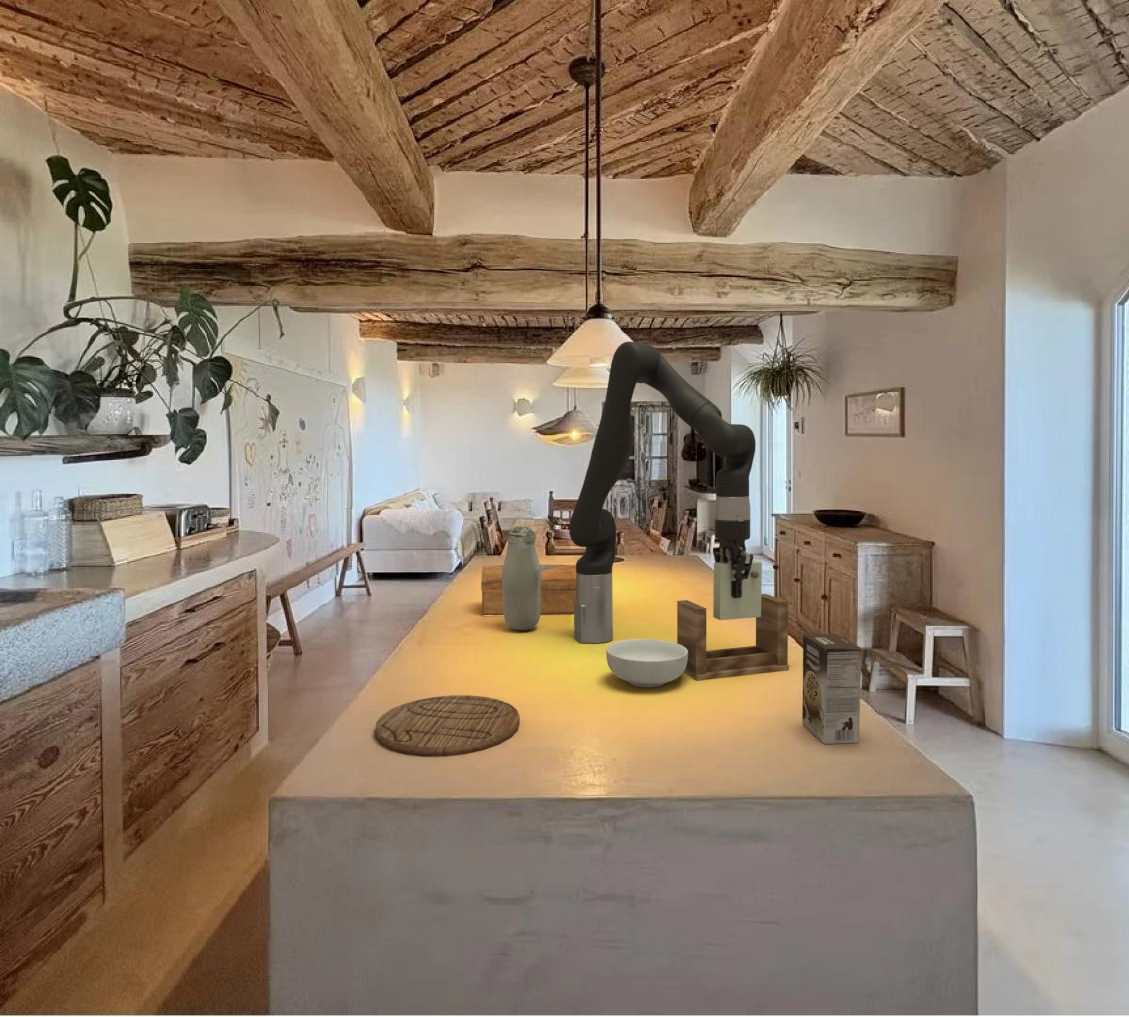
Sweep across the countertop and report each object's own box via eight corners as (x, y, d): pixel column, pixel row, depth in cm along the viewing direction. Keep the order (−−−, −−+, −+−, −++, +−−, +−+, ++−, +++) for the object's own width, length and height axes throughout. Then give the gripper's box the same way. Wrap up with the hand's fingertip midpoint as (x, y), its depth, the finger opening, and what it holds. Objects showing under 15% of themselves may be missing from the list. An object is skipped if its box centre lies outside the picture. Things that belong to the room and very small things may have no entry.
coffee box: (800, 724, 130) (801, 633, 129) (835, 722, 131) (837, 632, 129) (822, 745, 121) (824, 647, 120) (860, 743, 122) (862, 646, 120)
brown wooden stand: (697, 680, 155) (697, 609, 154) (676, 667, 165) (676, 600, 163) (788, 670, 161) (789, 601, 160) (763, 657, 171) (764, 593, 170)
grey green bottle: (497, 632, 198) (495, 528, 196) (514, 623, 207) (512, 524, 205) (531, 635, 194) (529, 529, 192) (547, 626, 204) (545, 525, 201)
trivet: (500, 762, 117) (500, 751, 117) (350, 754, 121) (350, 743, 121) (532, 707, 142) (532, 697, 141) (407, 702, 146) (407, 692, 146)
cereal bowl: (634, 700, 144) (634, 664, 143) (591, 677, 159) (591, 644, 158) (704, 686, 152) (704, 652, 151) (657, 665, 166) (657, 634, 166)
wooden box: (480, 617, 216) (479, 570, 215) (486, 605, 233) (485, 561, 232) (583, 616, 216) (583, 569, 215) (582, 604, 233) (581, 560, 232)
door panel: (722, 621, 159) (722, 565, 158) (713, 617, 163) (713, 562, 162) (763, 617, 162) (764, 563, 161) (753, 614, 165) (754, 560, 165)
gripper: (701, 515, 166) (701, 591, 167) (733, 520, 153) (733, 603, 154) (731, 513, 168) (731, 589, 170) (765, 519, 155) (765, 601, 156)
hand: (732, 595), depth 162 cm, fingers closed on door panel, 3 cm apart
